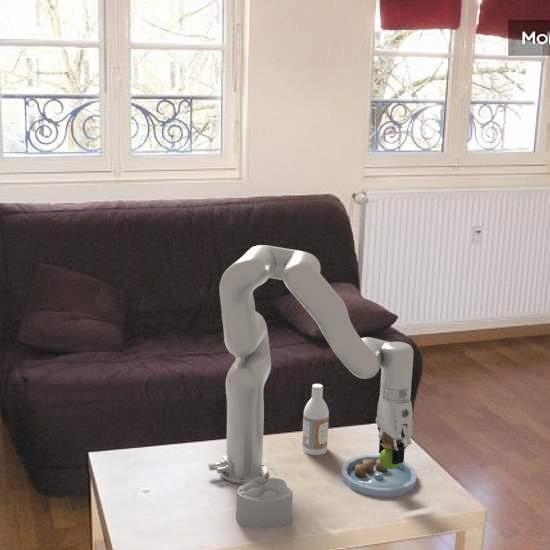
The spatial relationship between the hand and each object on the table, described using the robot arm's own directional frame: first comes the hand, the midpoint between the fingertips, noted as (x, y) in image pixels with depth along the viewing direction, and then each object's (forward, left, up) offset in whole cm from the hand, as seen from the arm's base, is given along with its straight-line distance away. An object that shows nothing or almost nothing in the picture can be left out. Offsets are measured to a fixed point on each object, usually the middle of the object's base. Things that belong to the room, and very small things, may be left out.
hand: (391, 457), depth 224 cm
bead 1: (-4, +8, -8) cm, 12 cm away
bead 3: (+3, +9, -8) cm, 12 cm away
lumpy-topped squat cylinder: (-35, 0, -10) cm, 37 cm away
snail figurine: (0, 0, -3) cm, 3 cm away
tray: (0, +5, -9) cm, 10 cm away
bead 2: (-1, +10, -8) cm, 13 cm away
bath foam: (-8, +26, -9) cm, 29 cm away
